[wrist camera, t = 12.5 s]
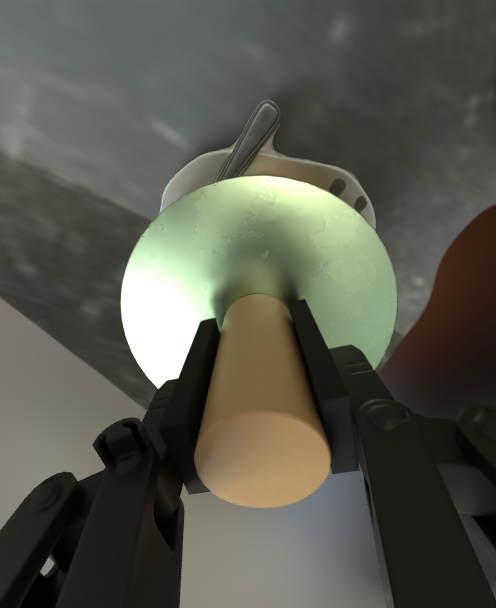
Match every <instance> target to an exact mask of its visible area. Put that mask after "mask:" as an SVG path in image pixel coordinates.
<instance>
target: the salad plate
mask: <svg viewBox="0 0 496 608" xmlns="http://www.w3.org/2000/svg"><path fill="white" fill-rule="evenodd" d="M280 121H281V113H280V110H279V107H278V105H277V104H276V103H274V102H273V101H271V100H264V101H263V102H262V103H260V104H259V105H258V107H257V108H256V109H255V111H254V112H253V114H252V116H251V117H250V119H249V121H248V123H247V125H246V127H245V128H244V130H243V132H242V134H241V135H240V137H239V138H238V140H237V141H236V142H235V143H234V144H233V145H232V146H230V147H228V148H224V149H221V150H216V151H212V152H209V153H206V154H202V155H201V156H199V157H197V158H196V159H194V160H193V161H191V162H190V163H189V164H187V165H186V166H185V167H184V168H183V169H181V170H180V171H179V172H178V173H177V174H176V175H175V176H174V177H173V178H172V179H171V181H170V182H169V184H168V185H167V186H166V188H165V190H164V193H163V196H162V202H161V209H160V213H161V212H162V211H163V210H164V209H165V208H167V207H168V206H169V205H171V204H172V203H174V202H175V201H176V200H178V199H179V198H181V197H182V196H184V195H186V194H188V193H190V192H191V191H193V190H195V189H197V188H199V187H201V186H204V185H207V184H210V183H213V182H216V181H219V180H222V179H227V178H232V177H238V176H244V175H273V176H283V177H289V178H293V179H297V180H301V181H305V182H308V183H311V184H313V185H316V186H318V187H320V188H323V189H325V190H327V191H329V192H331V193H332V194H334V195H336V196H337V197H339V198H341V199H342V200H344V201H346V202H347V203H348V204H349V205H350V206H352V207H353V208H354V209H355V210H356V211H358V212H359V213H360V214H361V215H362V216H363V217H364V218H365V219H366V221H367V222H368V223H369V224H370V225H371V226H372V227H373V229H374V230H375V229H376V220H375V214H374V210H373V207H372V205H371V200H370V199H369V198H368V196H367V194H366V193H365V192H364V189H363V188H362V187H361V185H360V183H359V181H358V179H357V178H356V176H355V175H353V173H352V172H350V171H348V170H345V169H343V168H341V167H338V166H331V165H326V164H322V163H320V162H316V161H311V160H309V159H300V158H295V157H287V156H286V155H284V154H281V153H278V152H277V151H275V150H274V148H273V146H272V144H273V138H274V135H275V132H276V131H277V129H278V128H279V126H280Z"/></svg>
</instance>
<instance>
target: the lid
mask: <svg viewBox="0 0 496 608" xmlns="http://www.w3.org/2000/svg"><path fill="white" fill-rule="evenodd" d="M301 299H305V300H306V302H307V304H308V306H309V308H310V310H311V313H312V315H313V317H314V319H315V321H316V323H317V325H318V328H319V330H320V332H321V334H322V336H323V338H324V341H325V343H326V345H327V347H328V348H334V347H339V346H344V345H349V344H351V345H353V346H355V347H356V348H358V349H360V350H361V351H362V352H363V353H364V355H365V356H366V358H367V359H368V362H370V364H371V365H372V367H373V369H374V370H375V369H376V368H377V366H378V365H379V363H380V362H381V360H382V358H383V356H384V354H385V352H386V350H387V348H388V346H389V344H390V341H391V338H392V335H393V332H394V328H395V323H396V318H397V309H398V292H397V283H396V277H395V273H394V269H393V266H392V262H391V259H390V257H389V255H388V253H387V250H386V248H385V246H384V244H383V242H382V241H381V239H380V238H379V236H378V235H377V233H376V232H375V230H374V229H373V227H372V226H371V225H370V224H369V223H368V222H367V221H366V219H365V218H364V217H363V216H362V215H361V214H360V213H359V212H358V211H356V210H355V209H354V208H353V207H352V206H350V205H349V204H348V203H347V202H346V201H344V200H342V199H341V198H339V197H337V196H336V195H334V194H332V193H331V192H329V191H327V190H325V189H323V188H320V187H318V186H316V185H313V184H311V183H308V182H305V181H301V180H297V179H293V178H289V177H283V176H273V175H244V176H238V177H232V178H227V179H222V180H219V181H216V182H213V183H210V184H207V185H204V186H201V187H199V188H197V189H195V190H193V191H191V192H190V193H188V194H186V195H184V196H182V197H181V198H179V199H178V200H176V201H175V202H174V203H172V204H171V205H169V206H168V207H167V208H165V209H164V210H163V211H162V212H161V213H160V214H159V215H158V216H157V217H156V218H155V219H154V220H153V221H152V222H151V223H150V225H149V226H148V227H147V228H146V230H145V231H144V232H143V234H142V235H141V236H140V238H139V240H138V242H137V243H136V245H135V247H134V249H133V251H132V253H131V255H130V257H129V260H128V263H127V266H126V268H125V272H124V277H123V282H122V287H121V304H120V305H121V315H122V323H123V327H124V331H125V336H126V338H127V341H128V344H129V346H130V349H131V351H132V353H133V355H134V357H135V359H136V360H137V362H138V364H139V366H140V367H141V368H142V370H143V371H144V373H145V374H146V375H147V377H148V378H149V379H150V380H151V381H152V382H153V383H154V384H155V385H156V387H157V388H158V389H159V387H160V386H161V385H162V384H163V383H164V382H165V381H166V380H170V379H175V378H178V376H179V374H180V371H181V369H182V366H183V364H184V361H185V359H186V356H187V354H188V351H189V349H190V346H191V344H192V341H193V339H194V336H195V334H196V331H197V329H198V326H199V323H200V321H202V320H207V319H211V318H216V321H217V324H218V327H219V330H220V333H221V335H220V340H219V344H218V349H217V353H216V358H215V362H214V367H213V371H212V376H211V380H210V385H209V389H208V394H207V399H206V403H205V408H204V412H203V417H202V421H201V426H200V430H199V435H198V439H197V444H196V448H195V453H194V463H195V468H196V471H197V474H198V476H199V478H200V479H201V481H202V482H203V484H204V485H205V486H206V487H207V488H208V489H209V490H210V491H211V492H213V493H214V494H215V495H217V496H219V497H220V498H222V499H225V500H226V501H229V502H231V503H234V504H238V505H241V506H246V507H253V508H271V507H272V508H273V507H280V506H284V505H288V504H292V503H295V502H297V501H300V500H302V499H304V498H306V497H307V496H309V495H310V494H312V493H313V492H314V491H316V490H317V489H318V488H319V487H320V486H321V485H322V483H323V482H324V481H325V479H326V477H327V475H328V473H329V470H330V467H331V459H332V458H331V450H330V446H329V443H328V440H327V436H326V434H325V430H324V427H323V423H322V420H321V417H320V413H319V410H318V406H317V403H316V400H315V396H314V393H313V389H312V386H311V382H310V379H309V376H308V372H307V369H306V365H305V362H304V359H303V355H302V352H301V348H300V345H299V342H298V338H297V335H296V331H295V328H294V324H293V320H292V315H291V309H290V304H289V302H292V301H297V300H301Z"/></svg>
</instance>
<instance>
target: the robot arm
mask: <svg viewBox="0 0 496 608" xmlns="http://www.w3.org/2000/svg"><path fill="white" fill-rule="evenodd" d="M289 304H290V309H291V315H292V320H293V324H294V328H295V331H296V335H297V338H298V342H299V345H300V348H301V352H302V355H303V359H304V362H305V365H306V369H307V372H308V376H309V379H310V382H311V386H312V389H313V393H314V396H315V400H316V403H317V406H318V410H319V413H320V417H321V420H322V423H323V427H324V430H325V434H326V436H327V440H328V443H329V446H330V450H331V458H332V459H331V470H332V473H333V474H337V473H344V472H351V471H358V470H359V464H360V466H361V469H362V471H363V474H364V483H365V491H366V499H367V505H368V506H369V511H370V517H371V523H372V528H373V534H374V539H375V545H376V551H377V556H378V562H379V567H380V572H381V578H382V584H383V590H384V595H385V601H386V606H387V608H496V599H495V597H494V595H493V592H492V590H491V588H490V585H489V583H488V581H487V579H486V576H485V574H484V572H483V570H482V567H481V565H480V563H479V560H478V558H477V556H476V554H475V551H474V549H473V547H472V544H471V542H470V540H469V538H468V535H467V533H466V531H465V528H464V526H463V524H462V522H461V519H460V517H459V515H458V513H460V514H461V516H462V517H463V519H464V520H465V522H466V523H467V524H468V525H469V527H470V529H471V530H472V532H473V533H474V534H475V536H476V537H477V539H478V540H479V542H480V543H481V545H482V546H483V547H484V549H485V550H486V552H487V553H488V555H489V556H490V558H491V559H492V560H493V562H494V563H495V565H496V407H493V406H487V405H474V406H469V407H466V408H464V409H462V410H461V411H460V412H459V414H458V415H457V420H450V419H439V418H430V417H424V416H420V415H417V414H414V413H412V412H411V410H410V409H409V408H407V407H406V406H404V405H403V404H401V403H399V402H396V401H395V400H394V399H393V397H392V396H391V394H390V393H389V391H388V390H387V388H386V387H385V385H384V384H383V382H382V381H381V379H380V377H379V376H378V374H377V373H376V371H375V370H374V369H373V367H372V365H371V364H370V362H368V359H367V358H366V356H365V355H364V353H363V352H362V351H361V350H360V349H358V348H356V347H355V346H353V345H351V344H349V345H344V346H339V347H334V348H328V347H327V345H326V343H325V341H324V338H323V336H322V334H321V332H320V330H319V328H318V325H317V323H316V321H315V319H314V317H313V315H312V313H311V310H310V308H309V306H308V304H307V302H306V300H305V299H301V300H297V301H292V302H289ZM220 335H221V333H220V330H219V327H218V324H217V321H216V318H211V319H207V320H202V321H200V323H199V326H198V329H197V331H196V334H195V336H194V339H193V341H192V344H191V346H190V349H189V351H188V354H187V356H186V359H185V361H184V364H183V366H182V369H181V371H180V374H179V376H178V378H175V379H170V380H166V381H165V382H164V383H163V384H162V385H161V386H160V387H159V389H158V390H157V391H156V394H155V396H154V398H153V400H152V401H153V402H151V404H150V406H149V408H148V411H147V412H146V415H145V417H144V419H143V421H142V422H141V421H140V420H139V419H137V418H133V417H132V418H126V419H122V420H120V421H118V422H115V423H114V424H112V425H111V426H109V427H108V428H106V429H105V430H104V431H103V432H102V433H101V434H100V435H99V436H98V437H97V438H96V440H95V442H94V443H93V447H94V448H95V450H96V451H97V453H98V455H99V457H100V458H101V460H102V461H103V463H104V464H105V466H106V467H105V469H104V470H103V471H101V472H98V473H96V474H94V475H91V476H89V477H87V478H85V479H83V480H80V481H77V479H76V478H75V477H74V475H73V474H72V473H71V472H62V473H58V474H55V475H53V476H51V477H50V478H48V479H46V480H44V481H43V482H42V483H41V484H39V485H38V486H37V487H35V488H34V489H33V491H32V492H31V493H30V494H29V495H28V496H27V497H26V498H25V499H24V501H23V502H22V503H21V504H20V506H19V507H18V509H17V510H16V511H15V512H14V513H13V515H12V516H11V517H10V519H9V520H8V521H7V522H6V524H5V525H4V526H3V527H2V529H1V530H0V608H179V604H180V586H181V567H182V548H183V546H182V545H183V528H184V506H183V502H182V500H181V498H180V495H181V491H182V486H183V483H184V485H185V487H186V489H187V491H188V493H189V494H196V493H203V492H210V490H209V489H208V488H207V487H206V486H205V485H204V484H203V482H202V481H201V479H200V478H199V476H198V474H197V471H196V468H195V463H194V453H195V448H196V444H197V439H198V435H199V430H200V426H201V421H202V417H203V412H204V408H205V403H206V399H207V394H208V389H209V385H210V380H211V376H212V371H213V367H214V362H215V358H216V353H217V349H218V344H219V340H220ZM358 461H359V463H358ZM457 512H458V513H457ZM48 557H49V558H50V559H51V560H52V561H53V562H54V563H55V564H54V566H53V567H52V569H51V570H50V571H49V573H48V574H46V575H45V576H43V575H42V574H41V573H40V571H41V569H42V567H43V565H44V564H45V562H46V560H47V559H48Z"/></svg>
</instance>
